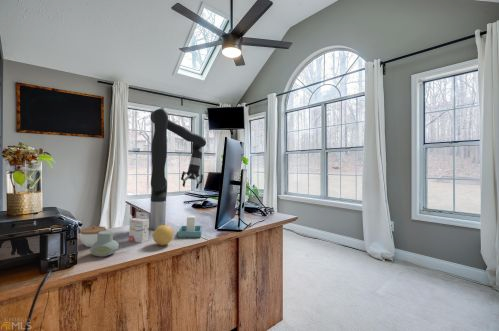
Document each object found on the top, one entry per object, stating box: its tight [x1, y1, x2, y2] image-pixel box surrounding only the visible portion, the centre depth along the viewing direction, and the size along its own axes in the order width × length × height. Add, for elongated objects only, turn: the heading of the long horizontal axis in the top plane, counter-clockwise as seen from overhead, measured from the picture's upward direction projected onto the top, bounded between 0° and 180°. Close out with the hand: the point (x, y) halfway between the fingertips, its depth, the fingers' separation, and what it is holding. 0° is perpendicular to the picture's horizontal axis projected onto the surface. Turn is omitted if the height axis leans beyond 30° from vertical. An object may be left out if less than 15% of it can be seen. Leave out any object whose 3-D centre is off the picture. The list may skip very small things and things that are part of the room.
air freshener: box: [89, 229, 120, 258], centre depth 104 cm, size 11×8×10 cm
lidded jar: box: [79, 225, 107, 248], centre depth 115 cm, size 11×11×9 cm
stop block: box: [186, 215, 196, 231], centre depth 138 cm, size 4×4×10 cm
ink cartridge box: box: [128, 211, 150, 244], centre depth 123 cm, size 9×5×15 cm, turn 74°
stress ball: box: [152, 224, 174, 246], centre depth 119 cm, size 10×10×10 cm
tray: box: [177, 225, 203, 239], centre depth 137 cm, size 13×13×4 cm
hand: (190, 187), depth 158 cm, fingers open, 8 cm apart
